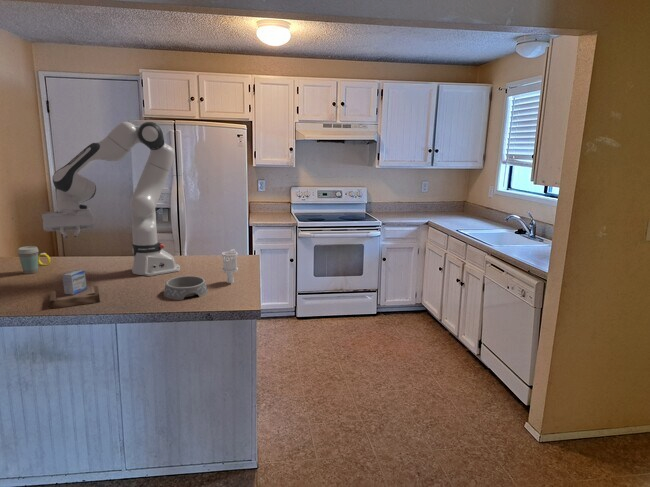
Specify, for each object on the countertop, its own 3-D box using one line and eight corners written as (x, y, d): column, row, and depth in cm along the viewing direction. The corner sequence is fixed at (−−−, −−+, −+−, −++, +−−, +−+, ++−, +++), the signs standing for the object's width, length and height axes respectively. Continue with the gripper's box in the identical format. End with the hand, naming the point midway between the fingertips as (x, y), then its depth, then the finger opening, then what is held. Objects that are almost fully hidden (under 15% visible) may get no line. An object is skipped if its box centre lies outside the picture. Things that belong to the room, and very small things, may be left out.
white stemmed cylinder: (241, 281, 209) (240, 250, 205) (232, 285, 203) (231, 253, 199) (228, 278, 212) (228, 248, 208) (219, 282, 205) (218, 251, 202)
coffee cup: (45, 270, 217) (42, 246, 214) (29, 275, 209) (25, 250, 206) (32, 268, 219) (29, 245, 216) (15, 273, 211) (12, 249, 209)
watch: (37, 265, 225) (35, 254, 224) (41, 264, 228) (38, 253, 227) (48, 265, 225) (46, 254, 224) (52, 263, 228) (50, 252, 226)
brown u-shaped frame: (98, 292, 189) (98, 285, 189) (99, 302, 179) (99, 295, 178) (52, 298, 181) (51, 291, 181) (50, 308, 171) (49, 301, 170)
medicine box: (73, 295, 185) (71, 275, 183) (64, 294, 186) (62, 274, 184) (87, 289, 193) (85, 270, 191) (78, 288, 194) (76, 269, 192)
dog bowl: (213, 295, 190) (212, 283, 189) (169, 303, 180) (168, 290, 179) (201, 284, 204) (200, 273, 203) (159, 290, 194) (158, 278, 193)
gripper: (40, 208, 194) (42, 234, 188) (93, 205, 204) (96, 230, 198) (42, 216, 199) (43, 242, 193) (94, 213, 208) (96, 238, 202)
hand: (70, 236), depth 195 cm, fingers open, 3 cm apart
